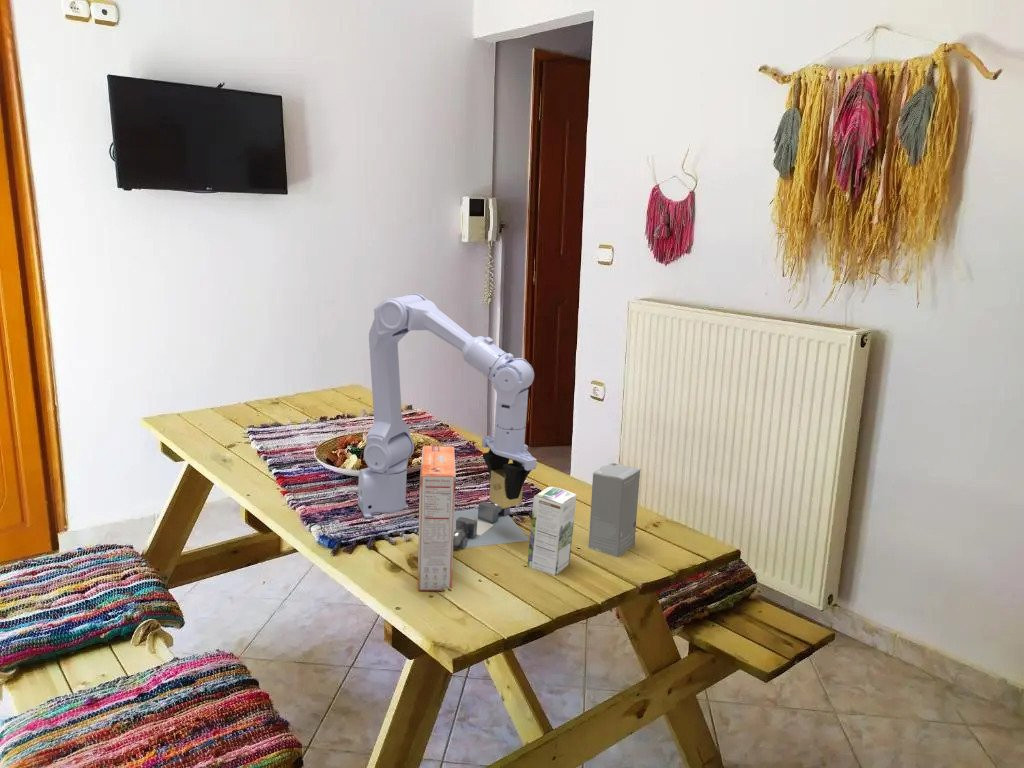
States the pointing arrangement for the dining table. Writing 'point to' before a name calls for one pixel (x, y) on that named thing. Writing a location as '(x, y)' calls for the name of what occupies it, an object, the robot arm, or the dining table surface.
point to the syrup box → (551, 530)
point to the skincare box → (614, 509)
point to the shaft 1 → (464, 532)
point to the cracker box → (436, 518)
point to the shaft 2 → (491, 512)
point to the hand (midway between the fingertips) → (505, 493)
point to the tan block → (501, 490)
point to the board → (492, 530)
